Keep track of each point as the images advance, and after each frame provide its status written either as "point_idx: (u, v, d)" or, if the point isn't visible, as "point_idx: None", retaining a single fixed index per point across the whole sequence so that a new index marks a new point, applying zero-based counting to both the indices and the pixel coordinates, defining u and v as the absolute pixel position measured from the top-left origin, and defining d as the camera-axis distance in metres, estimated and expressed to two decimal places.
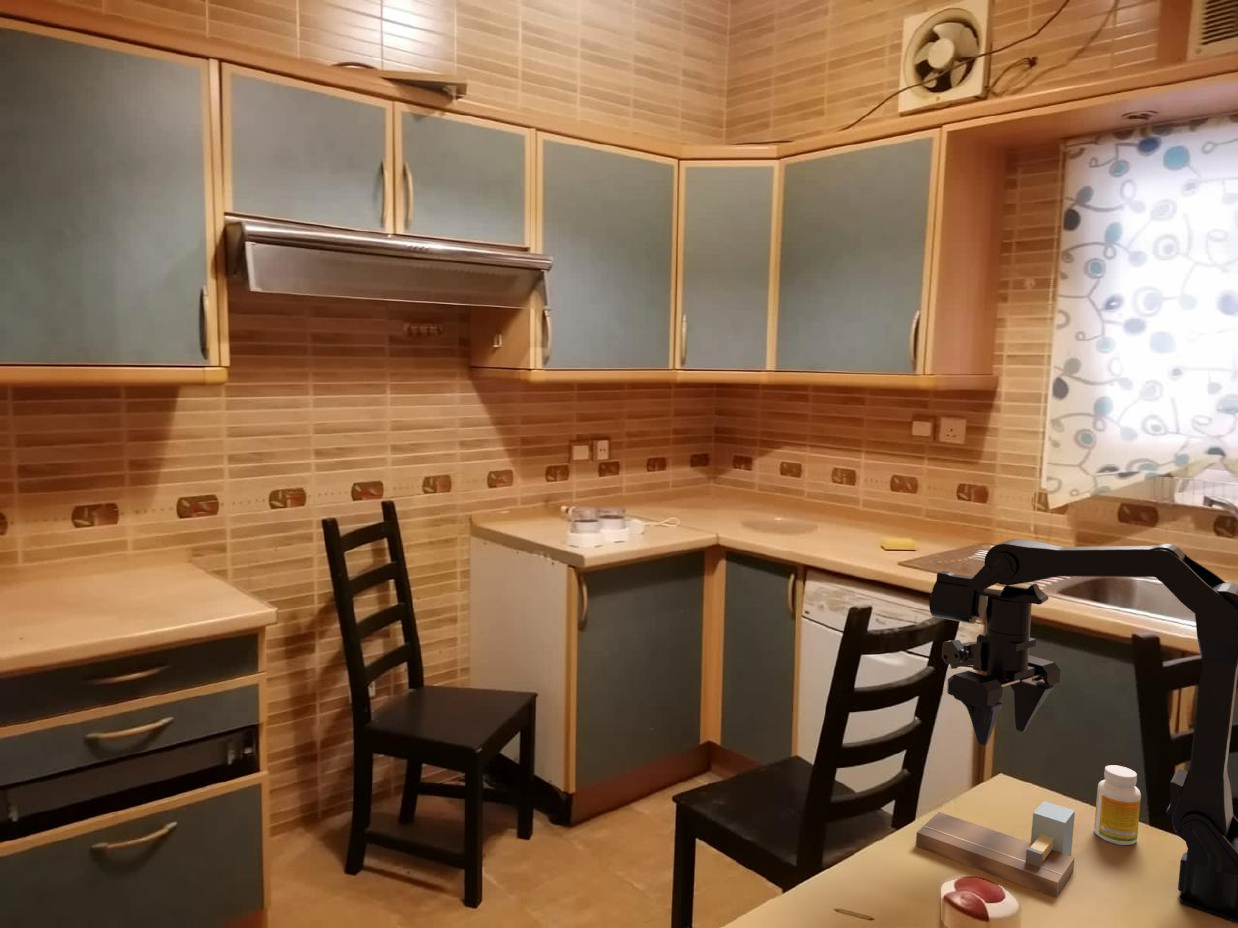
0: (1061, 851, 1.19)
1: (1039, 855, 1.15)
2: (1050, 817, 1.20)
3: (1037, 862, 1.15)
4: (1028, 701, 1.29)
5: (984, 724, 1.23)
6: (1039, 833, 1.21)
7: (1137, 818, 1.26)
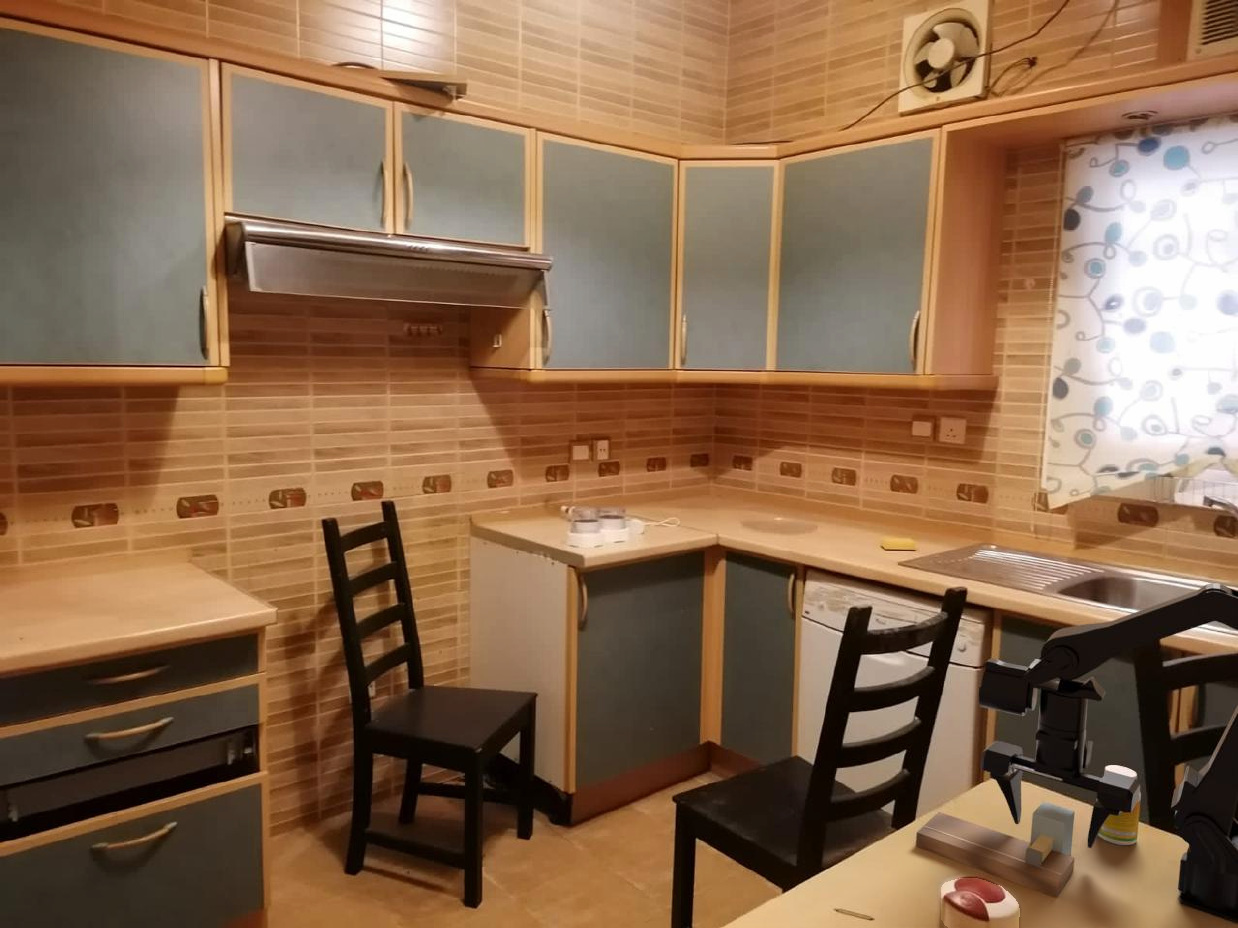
0: (1061, 851, 1.19)
1: (1038, 855, 1.15)
2: (1050, 818, 1.20)
3: (1037, 862, 1.15)
4: None
5: None
6: (1038, 834, 1.21)
7: (1137, 818, 1.26)
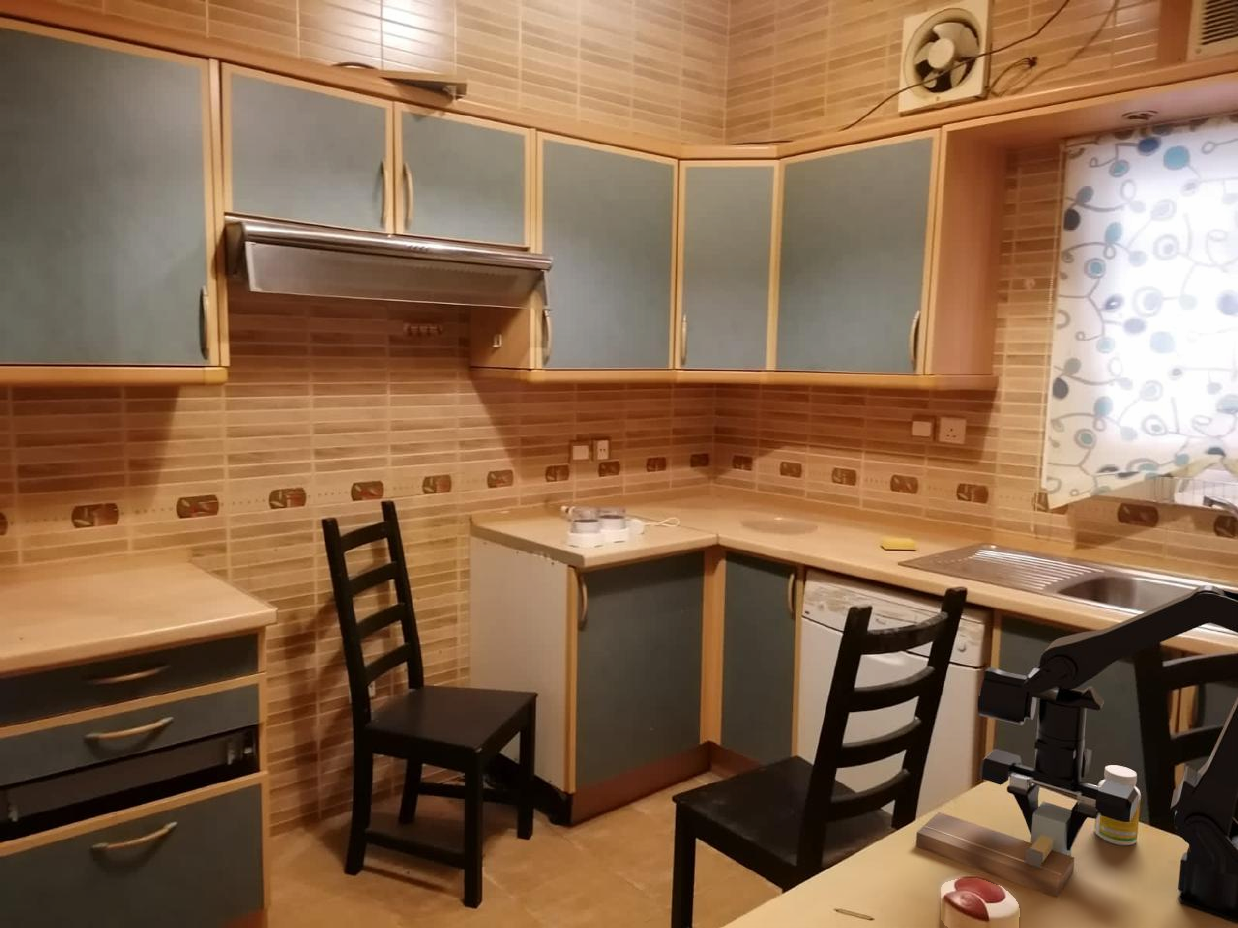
0: (1061, 852, 1.19)
1: (1038, 855, 1.15)
2: (1050, 818, 1.20)
3: (1037, 863, 1.15)
4: None
5: None
6: (1038, 834, 1.21)
7: (1137, 818, 1.26)
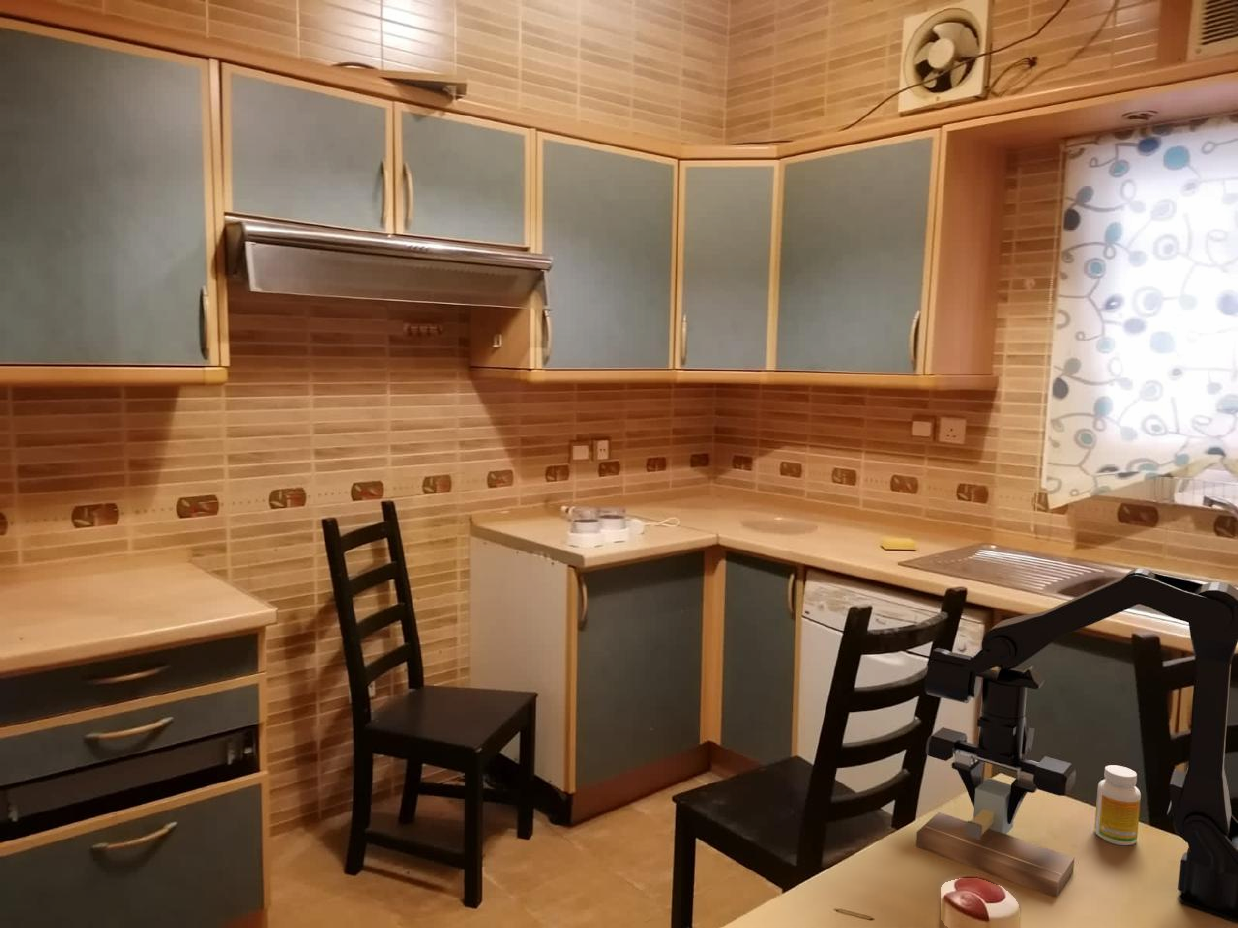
0: (1001, 825, 1.24)
1: (978, 828, 1.20)
2: (991, 792, 1.25)
3: (976, 835, 1.20)
4: None
5: None
6: (980, 808, 1.26)
7: (1137, 818, 1.26)
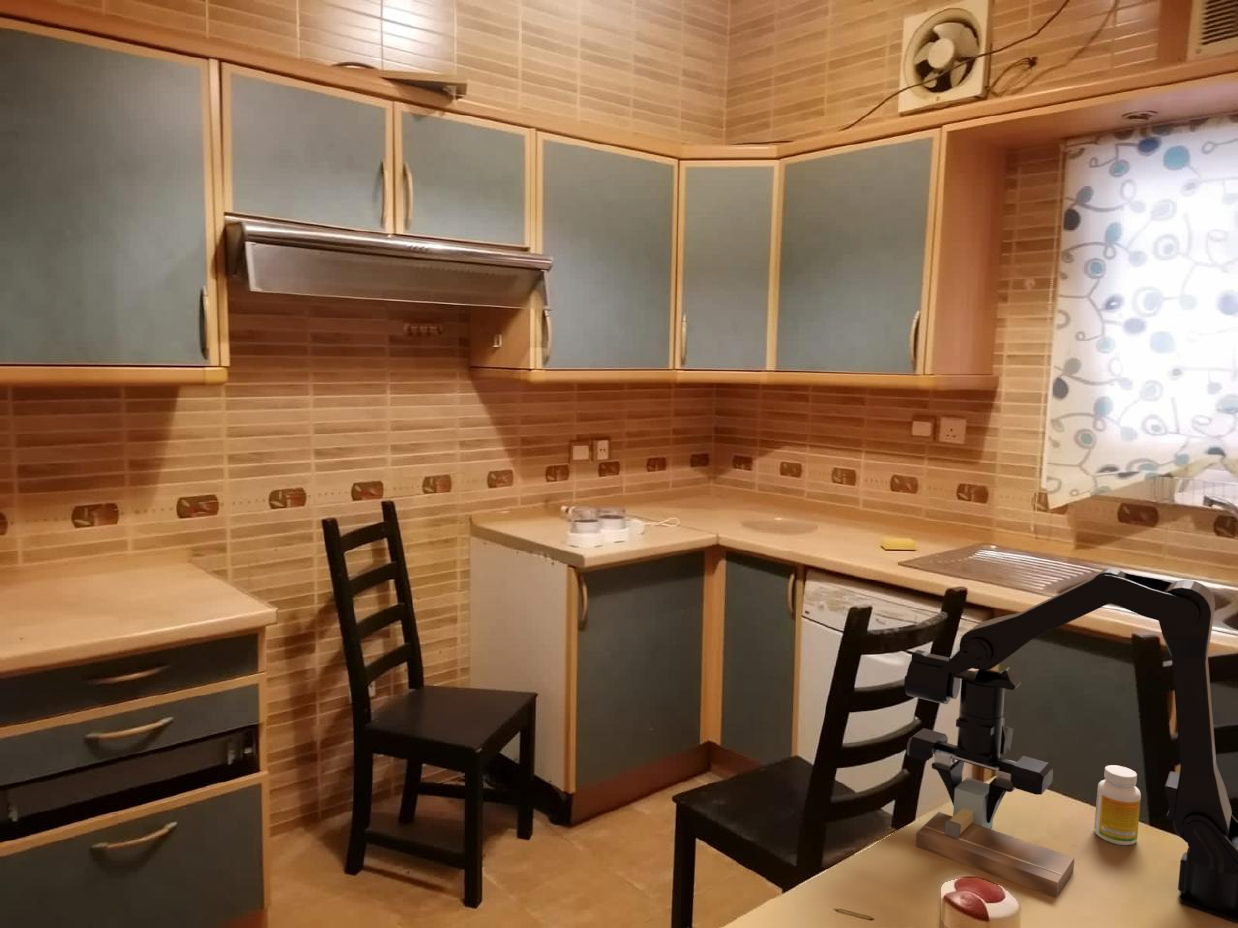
0: (980, 824, 1.26)
1: (956, 827, 1.22)
2: (970, 792, 1.27)
3: (955, 834, 1.22)
4: None
5: None
6: (960, 807, 1.28)
7: (1137, 818, 1.26)
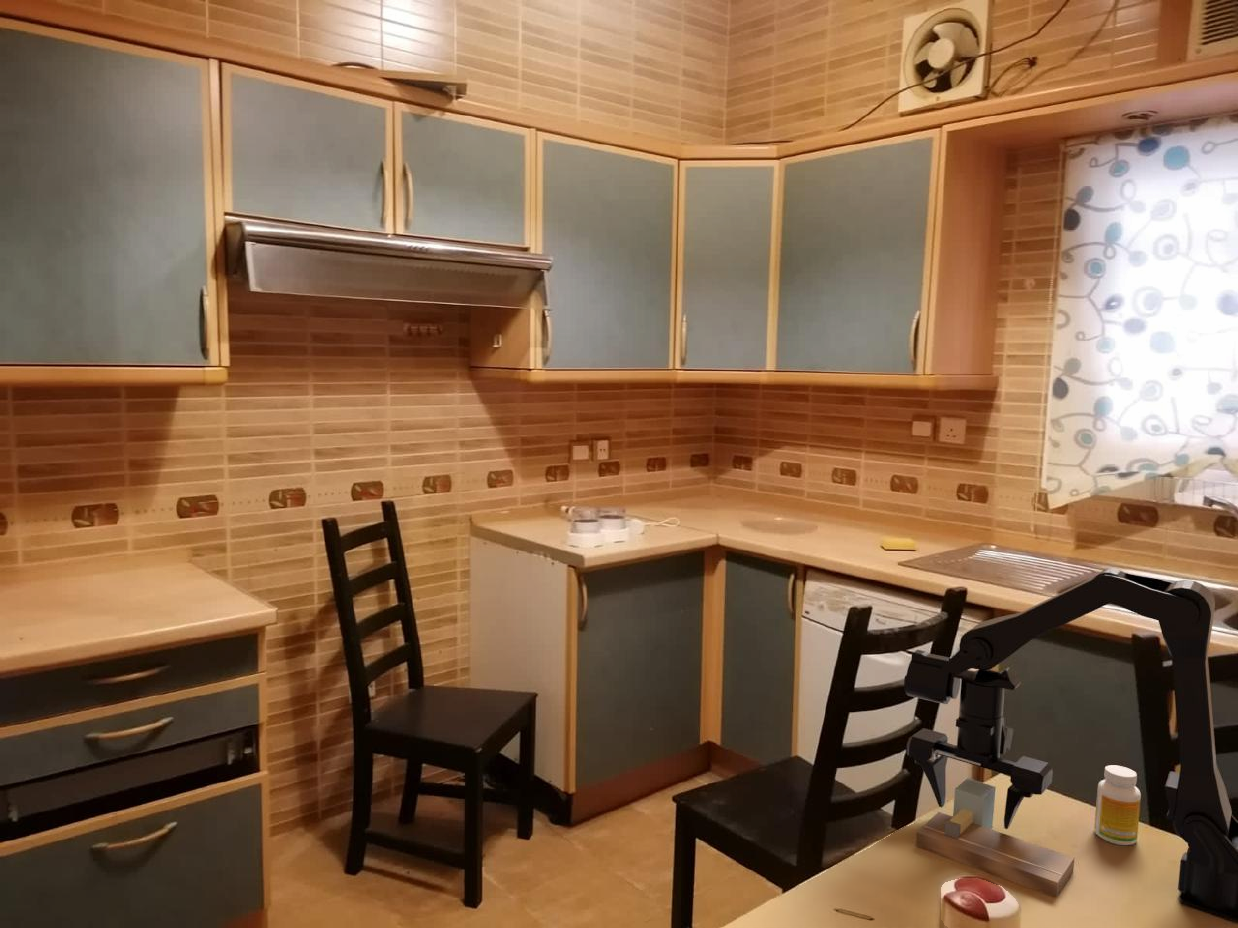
0: (980, 824, 1.26)
1: (956, 827, 1.22)
2: (970, 793, 1.27)
3: (955, 834, 1.22)
4: None
5: None
6: (960, 808, 1.28)
7: (1137, 818, 1.26)
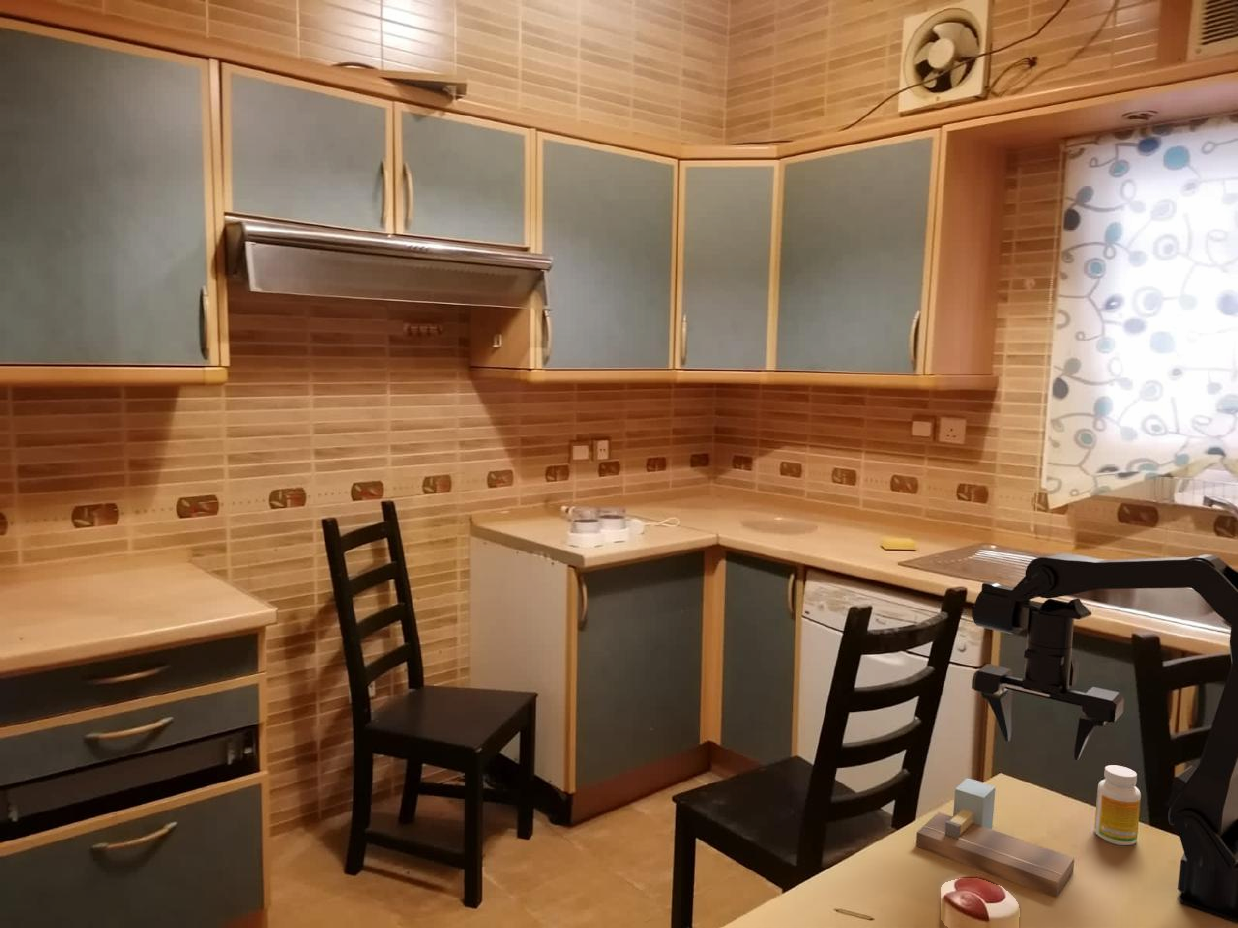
0: (980, 824, 1.26)
1: (956, 827, 1.22)
2: (970, 793, 1.27)
3: (955, 834, 1.22)
4: None
5: None
6: (960, 808, 1.27)
7: (1137, 818, 1.26)
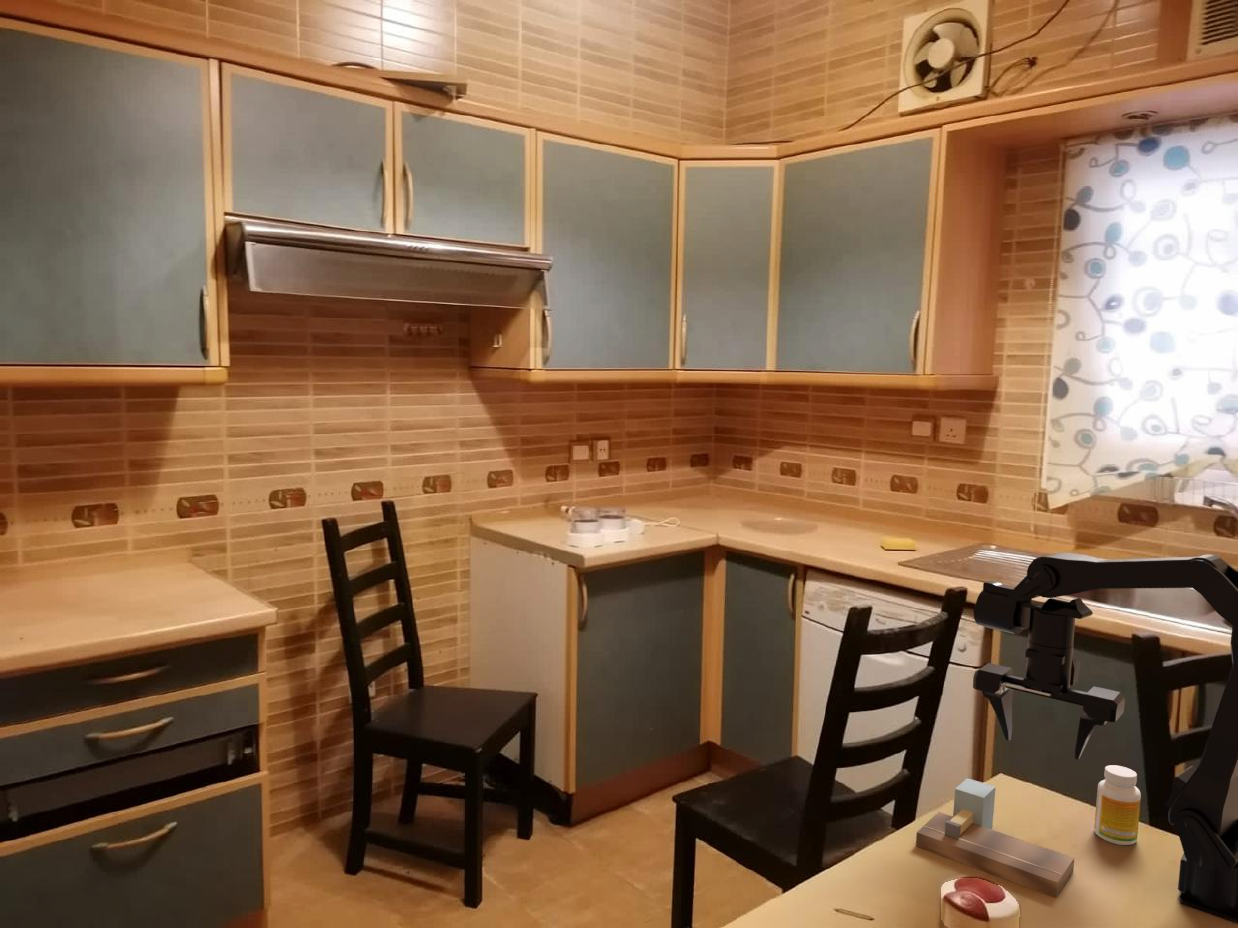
0: (980, 824, 1.26)
1: (956, 827, 1.22)
2: (970, 793, 1.27)
3: (955, 834, 1.22)
4: None
5: None
6: (960, 808, 1.28)
7: (1137, 818, 1.26)
